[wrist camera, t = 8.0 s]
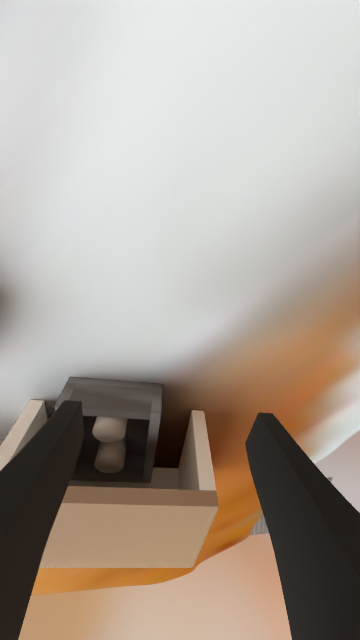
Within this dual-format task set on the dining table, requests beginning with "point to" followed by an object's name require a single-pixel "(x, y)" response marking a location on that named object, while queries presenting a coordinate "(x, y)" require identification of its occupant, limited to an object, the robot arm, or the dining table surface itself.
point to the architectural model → (261, 524)
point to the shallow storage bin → (129, 508)
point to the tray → (117, 407)
